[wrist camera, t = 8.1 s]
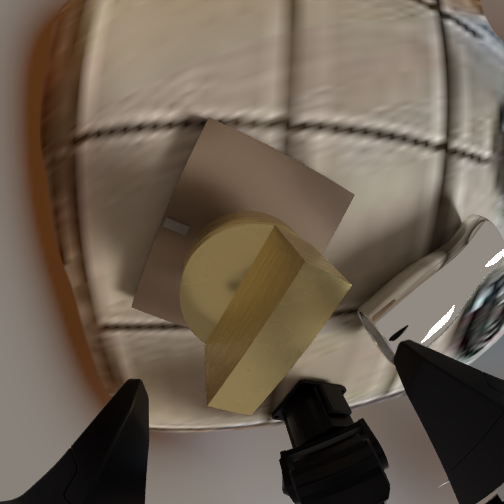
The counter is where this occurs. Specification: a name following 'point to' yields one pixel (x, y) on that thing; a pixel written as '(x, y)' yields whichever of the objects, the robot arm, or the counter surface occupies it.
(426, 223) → the counter surface
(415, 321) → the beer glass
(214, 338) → the cap
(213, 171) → the base
